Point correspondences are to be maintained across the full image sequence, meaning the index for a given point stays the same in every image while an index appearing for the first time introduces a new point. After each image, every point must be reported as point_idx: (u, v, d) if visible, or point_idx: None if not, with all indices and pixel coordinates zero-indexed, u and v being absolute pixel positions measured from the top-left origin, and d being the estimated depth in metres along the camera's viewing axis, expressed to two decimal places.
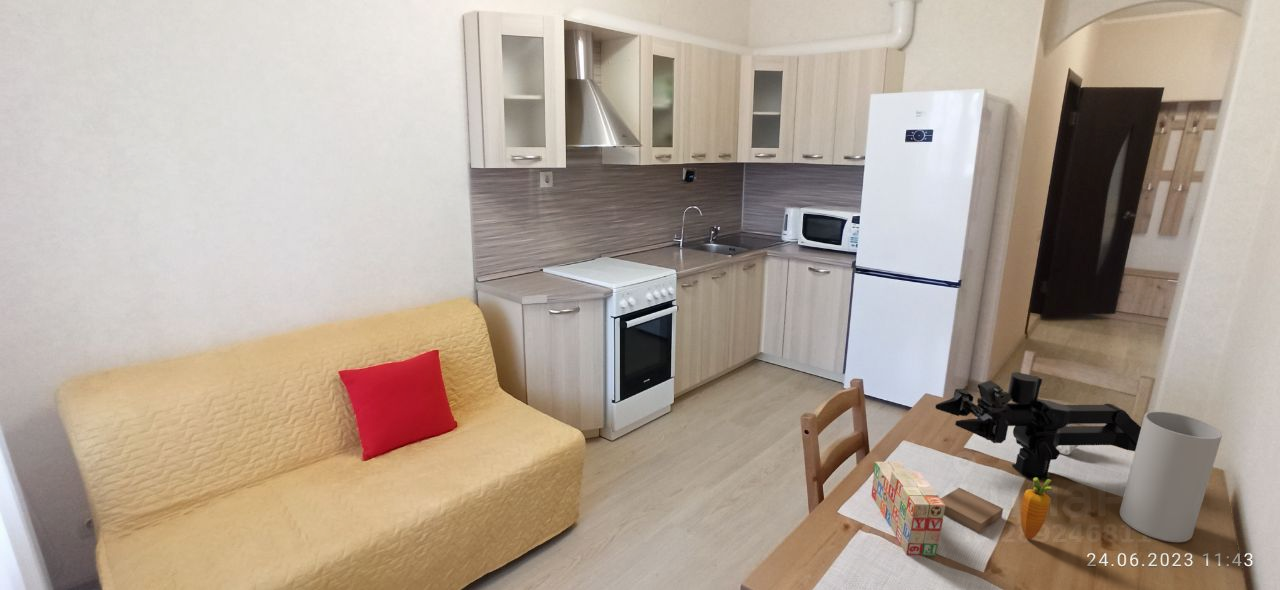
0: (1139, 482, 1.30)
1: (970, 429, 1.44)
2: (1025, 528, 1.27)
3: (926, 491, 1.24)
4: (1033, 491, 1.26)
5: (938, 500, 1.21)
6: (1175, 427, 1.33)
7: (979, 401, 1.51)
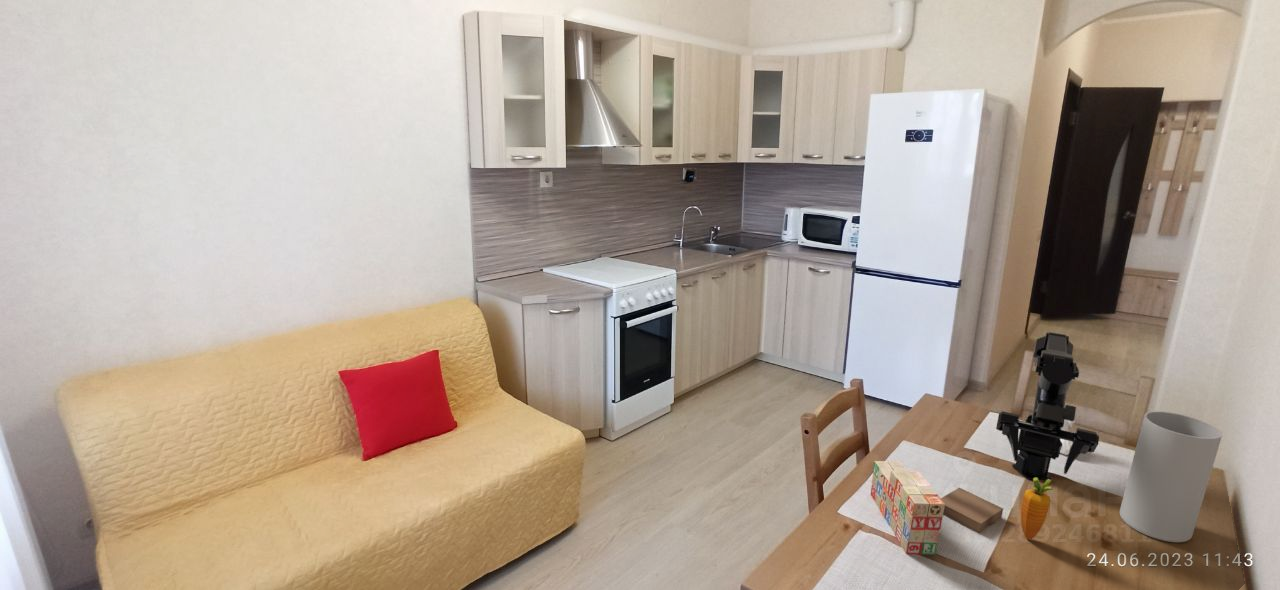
0: (1139, 482, 1.30)
1: None
2: (1025, 528, 1.27)
3: (926, 490, 1.24)
4: (1033, 491, 1.26)
5: (938, 499, 1.21)
6: (1175, 427, 1.33)
7: (1036, 420, 1.34)
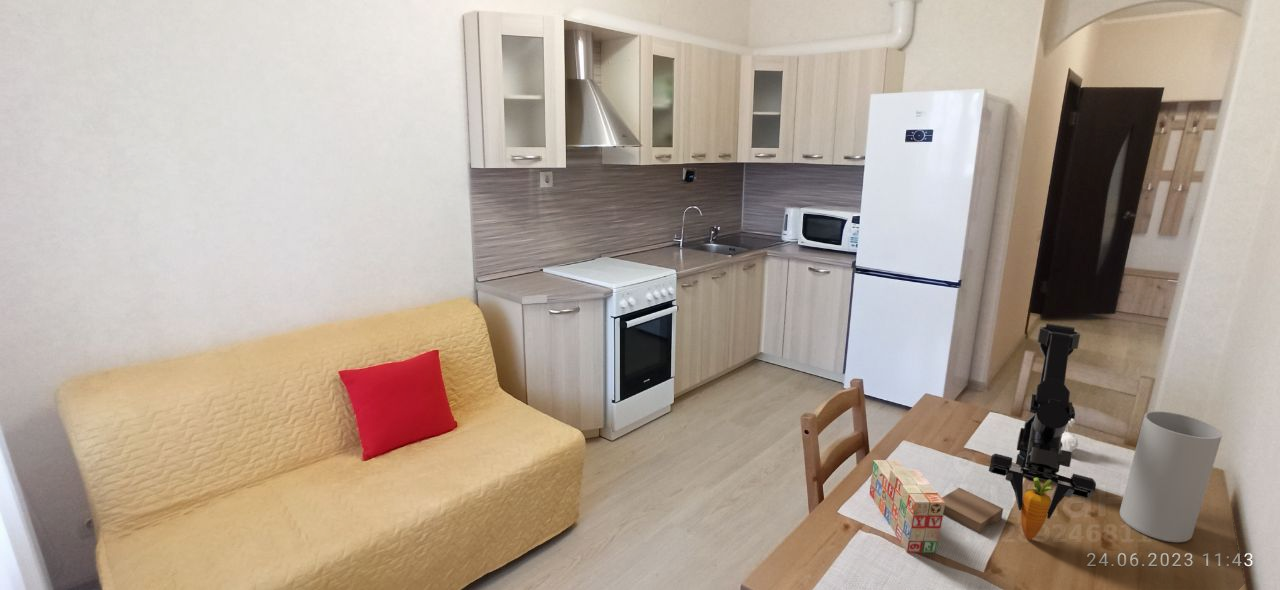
0: (1139, 482, 1.30)
1: None
2: (1025, 528, 1.27)
3: (926, 489, 1.25)
4: (1033, 491, 1.26)
5: (938, 498, 1.22)
6: (1175, 427, 1.33)
7: (1031, 464, 1.28)
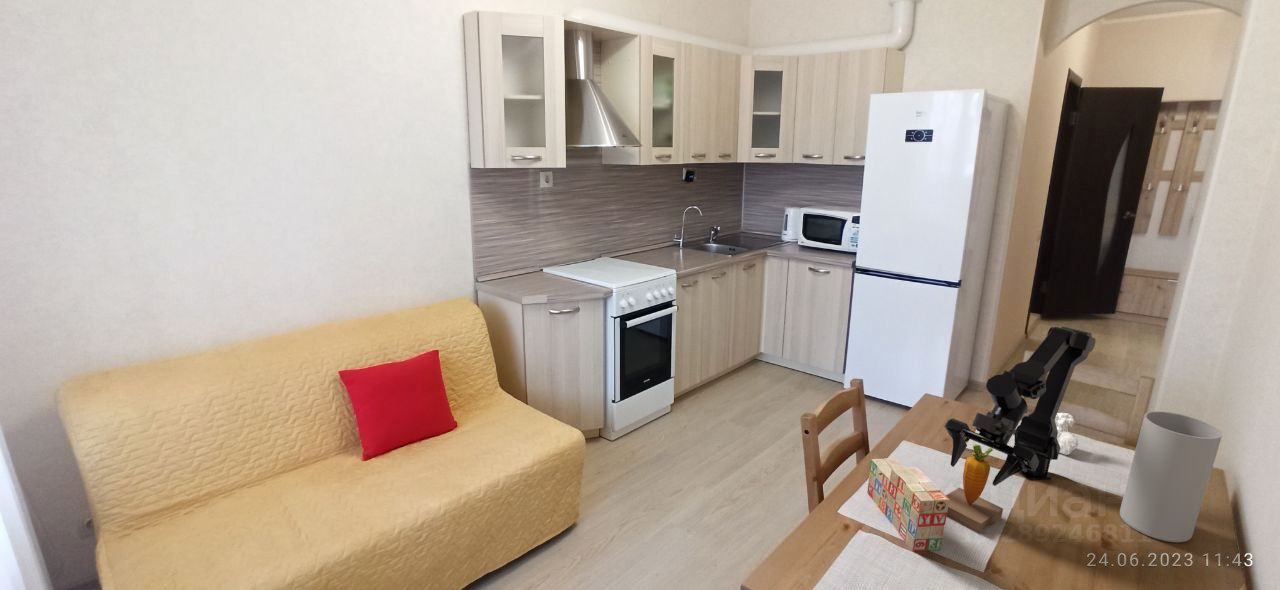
0: (1139, 482, 1.30)
1: (1007, 476, 1.30)
2: (964, 491, 1.35)
3: (929, 486, 1.25)
4: (975, 457, 1.34)
5: (942, 495, 1.23)
6: (1175, 427, 1.33)
7: (980, 430, 1.35)
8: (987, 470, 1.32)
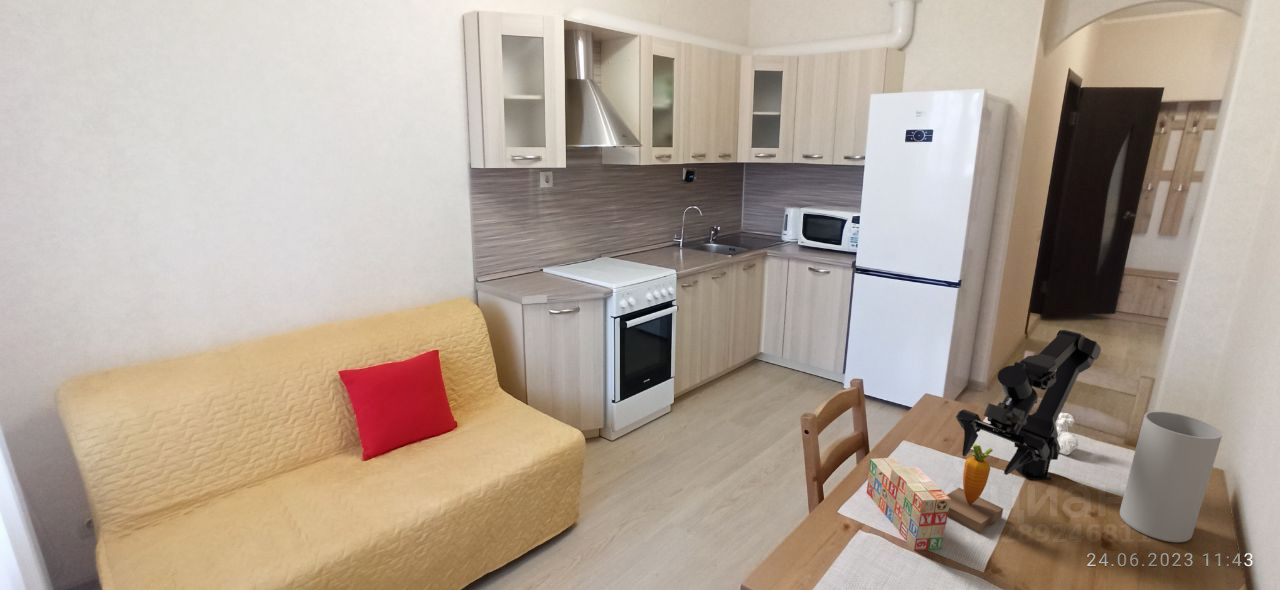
0: (1139, 482, 1.30)
1: (1018, 465, 1.32)
2: (964, 491, 1.35)
3: (929, 486, 1.26)
4: (975, 458, 1.34)
5: (943, 495, 1.23)
6: (1175, 427, 1.33)
7: (991, 421, 1.37)
8: (987, 470, 1.32)
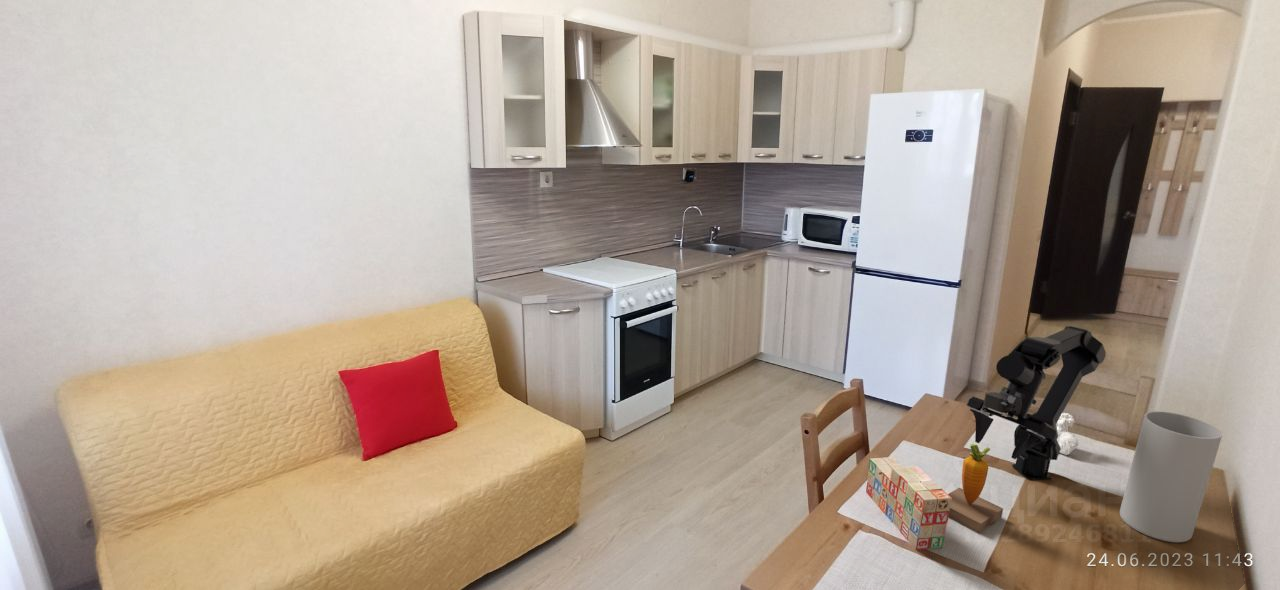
0: (1139, 482, 1.30)
1: (1026, 448, 1.36)
2: (964, 491, 1.35)
3: (930, 485, 1.26)
4: None
5: (944, 494, 1.24)
6: (1175, 427, 1.33)
7: None
8: (985, 470, 1.32)
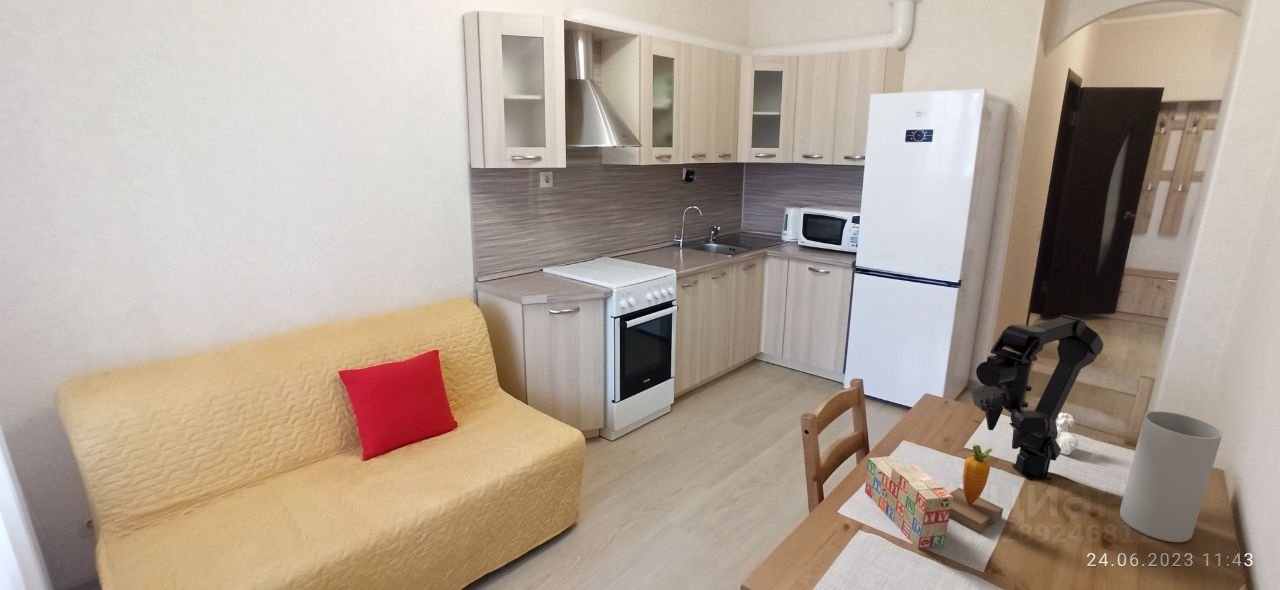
0: (1139, 482, 1.30)
1: (1024, 438, 1.38)
2: (964, 491, 1.35)
3: (931, 484, 1.26)
4: (975, 458, 1.34)
5: (945, 492, 1.24)
6: (1175, 427, 1.33)
7: None
8: (987, 470, 1.32)
